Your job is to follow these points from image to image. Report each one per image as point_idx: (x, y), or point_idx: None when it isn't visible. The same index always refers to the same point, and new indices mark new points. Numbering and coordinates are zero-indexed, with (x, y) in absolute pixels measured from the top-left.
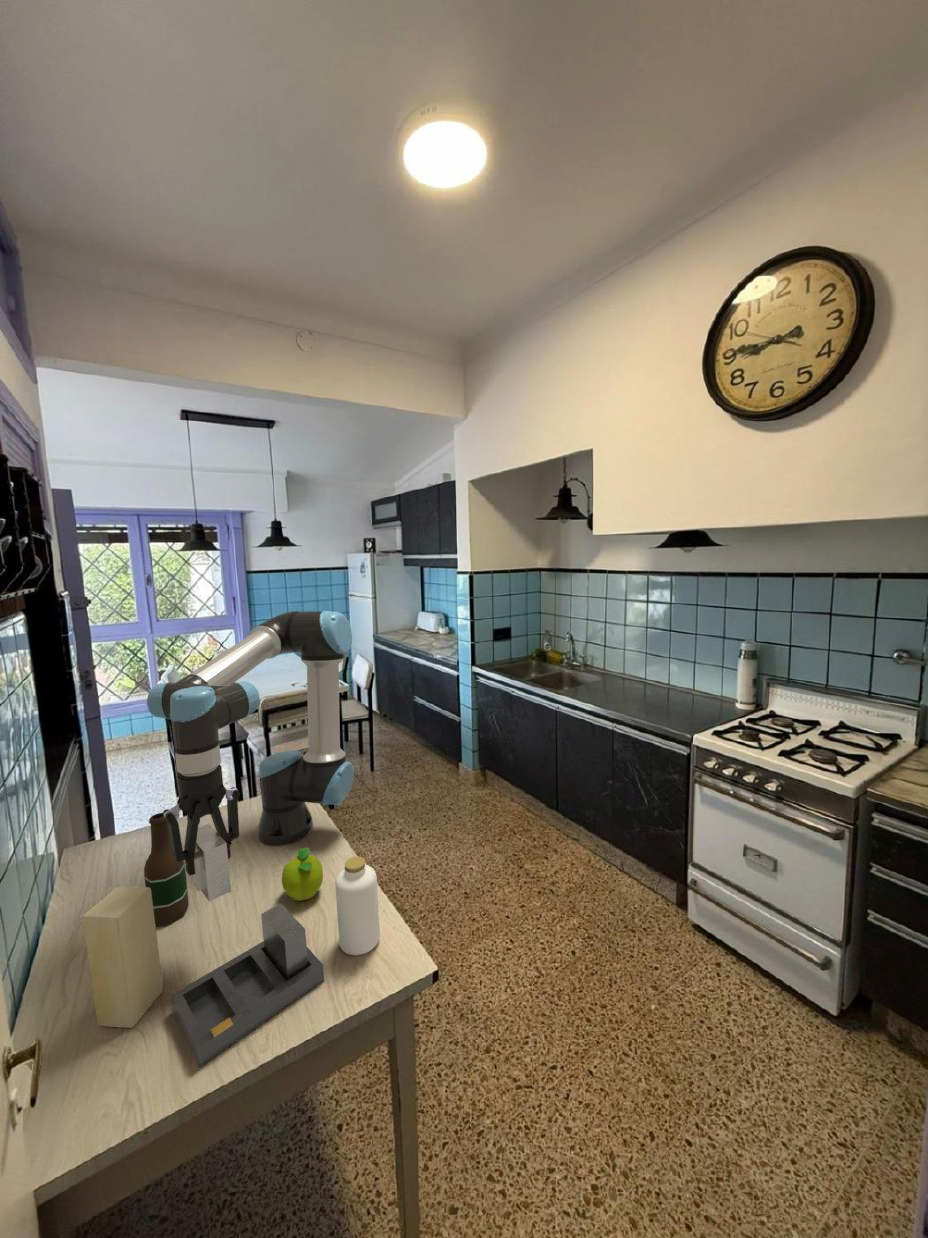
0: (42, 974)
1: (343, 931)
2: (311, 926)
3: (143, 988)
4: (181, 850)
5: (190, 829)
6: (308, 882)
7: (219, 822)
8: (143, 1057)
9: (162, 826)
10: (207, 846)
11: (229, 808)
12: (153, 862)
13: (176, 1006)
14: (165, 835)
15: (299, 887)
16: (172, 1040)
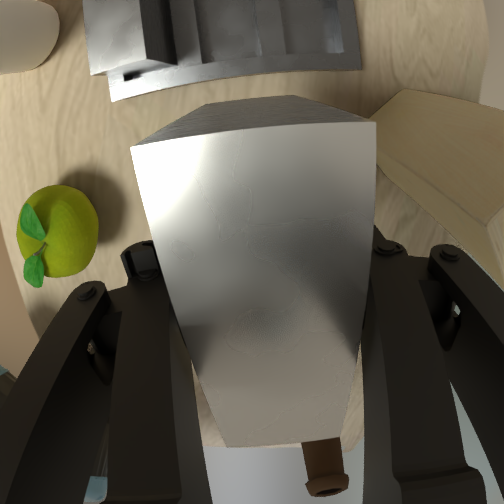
0: None
1: (34, 10)
2: (82, 118)
3: (401, 112)
4: (465, 288)
5: (453, 430)
6: (44, 193)
7: (143, 429)
8: (396, 24)
9: (324, 467)
10: (316, 209)
11: (50, 498)
12: None
13: (357, 35)
14: (316, 444)
15: (64, 194)
16: (358, 18)
